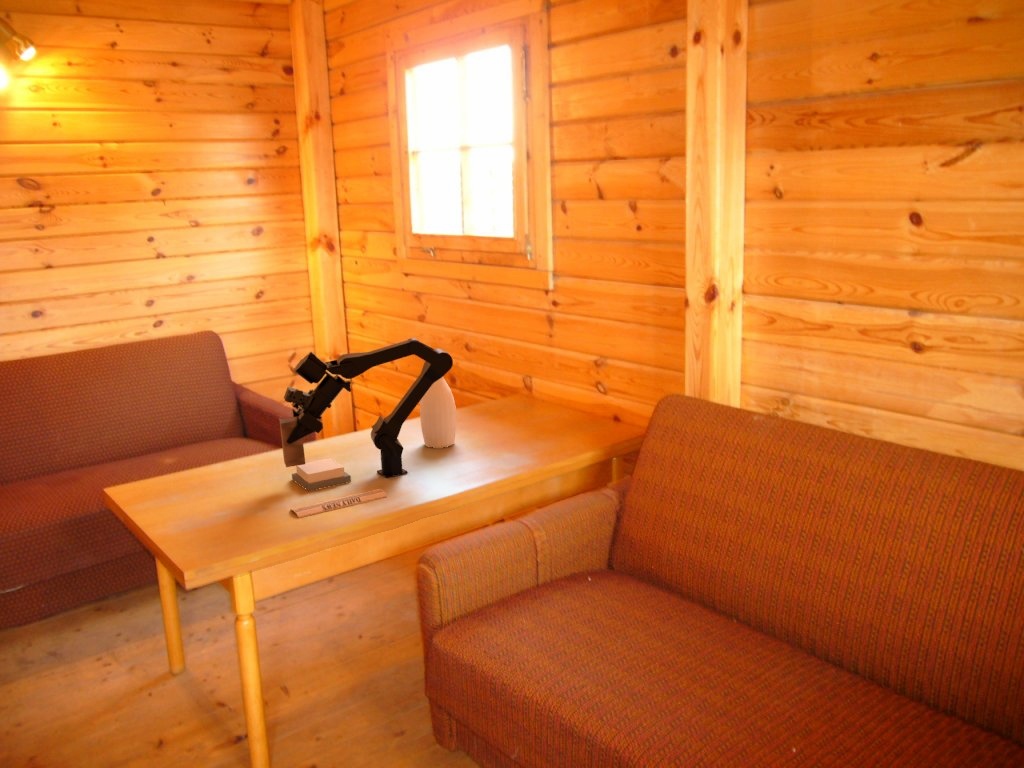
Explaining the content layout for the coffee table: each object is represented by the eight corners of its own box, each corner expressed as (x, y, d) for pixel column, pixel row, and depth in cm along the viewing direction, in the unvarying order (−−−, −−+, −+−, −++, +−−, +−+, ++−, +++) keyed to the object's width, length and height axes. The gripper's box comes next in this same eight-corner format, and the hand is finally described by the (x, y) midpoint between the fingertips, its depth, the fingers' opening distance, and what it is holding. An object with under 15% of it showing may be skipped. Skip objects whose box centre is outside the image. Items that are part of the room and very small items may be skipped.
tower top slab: (344, 475, 240) (343, 467, 240) (308, 483, 235) (307, 474, 235) (331, 466, 248) (330, 458, 248) (296, 473, 243) (296, 464, 243)
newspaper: (377, 493, 233) (376, 487, 233) (388, 500, 227) (388, 494, 227) (290, 514, 221) (289, 507, 220) (300, 522, 215) (299, 515, 215)
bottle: (464, 445, 270) (460, 363, 265) (432, 452, 264) (428, 368, 258) (446, 437, 279) (442, 357, 274) (414, 443, 273) (410, 363, 268)
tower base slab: (351, 484, 241) (350, 475, 240) (309, 494, 234) (308, 485, 234) (333, 473, 250) (332, 464, 250) (292, 482, 244) (291, 473, 243)
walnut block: (303, 458, 240) (298, 416, 238) (305, 464, 236) (300, 420, 233) (284, 461, 239) (279, 419, 236) (286, 467, 234) (281, 423, 231)
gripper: (296, 369, 242) (259, 414, 241) (305, 383, 225) (265, 431, 224) (327, 393, 246) (291, 437, 245) (339, 409, 229) (300, 456, 228)
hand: (286, 440), depth 235 cm, fingers closed on walnut block, 5 cm apart
